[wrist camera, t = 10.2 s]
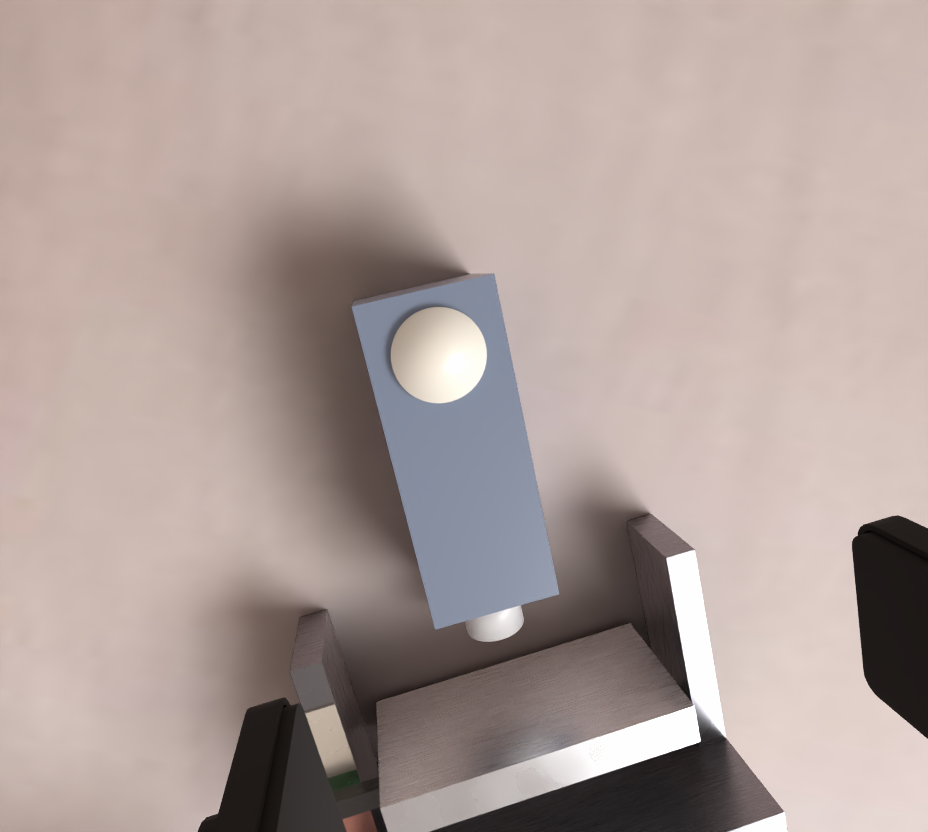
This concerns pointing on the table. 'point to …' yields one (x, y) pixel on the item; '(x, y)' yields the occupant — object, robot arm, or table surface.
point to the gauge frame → (601, 797)
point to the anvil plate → (521, 731)
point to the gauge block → (459, 450)
